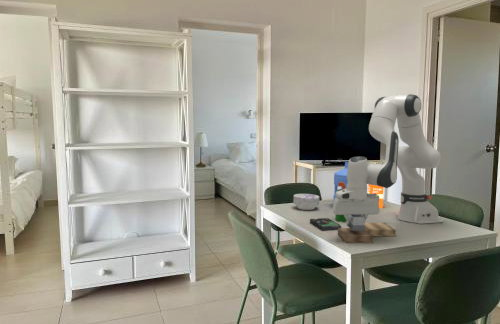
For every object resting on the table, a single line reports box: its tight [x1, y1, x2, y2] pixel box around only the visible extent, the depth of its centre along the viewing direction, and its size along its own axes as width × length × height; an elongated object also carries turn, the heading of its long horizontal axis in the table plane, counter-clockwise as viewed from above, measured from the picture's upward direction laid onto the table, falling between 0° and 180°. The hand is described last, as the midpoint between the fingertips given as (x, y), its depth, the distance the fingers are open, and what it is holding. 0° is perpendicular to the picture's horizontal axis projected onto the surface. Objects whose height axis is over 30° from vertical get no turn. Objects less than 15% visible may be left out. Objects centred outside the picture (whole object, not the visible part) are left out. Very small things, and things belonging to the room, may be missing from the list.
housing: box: [346, 215, 366, 231], centre depth 168 cm, size 5×8×6 cm, turn 3°
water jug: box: [332, 161, 349, 204], centre depth 228 cm, size 16×16×28 cm
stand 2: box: [364, 222, 396, 237], centre depth 179 cm, size 12×12×3 cm
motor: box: [334, 182, 346, 223], centre depth 200 cm, size 10×9×20 cm
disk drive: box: [309, 217, 342, 232], centre depth 188 cm, size 10×3×15 cm
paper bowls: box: [292, 193, 320, 211], centre depth 226 cm, size 15×15×8 cm
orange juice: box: [367, 184, 384, 209], centre depth 233 cm, size 8×9×20 cm
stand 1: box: [337, 227, 374, 244], centre depth 169 cm, size 12×12×3 cm
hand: (355, 224), depth 168 cm, fingers closed on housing, 5 cm apart
